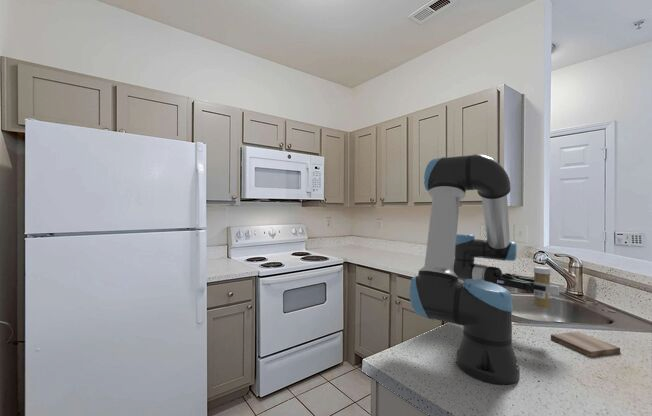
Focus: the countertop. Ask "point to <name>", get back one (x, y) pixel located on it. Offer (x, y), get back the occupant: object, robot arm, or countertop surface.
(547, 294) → the sprinkles bottle
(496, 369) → the robot arm
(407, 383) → the countertop surface
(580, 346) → the walnut board
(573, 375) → the countertop surface
